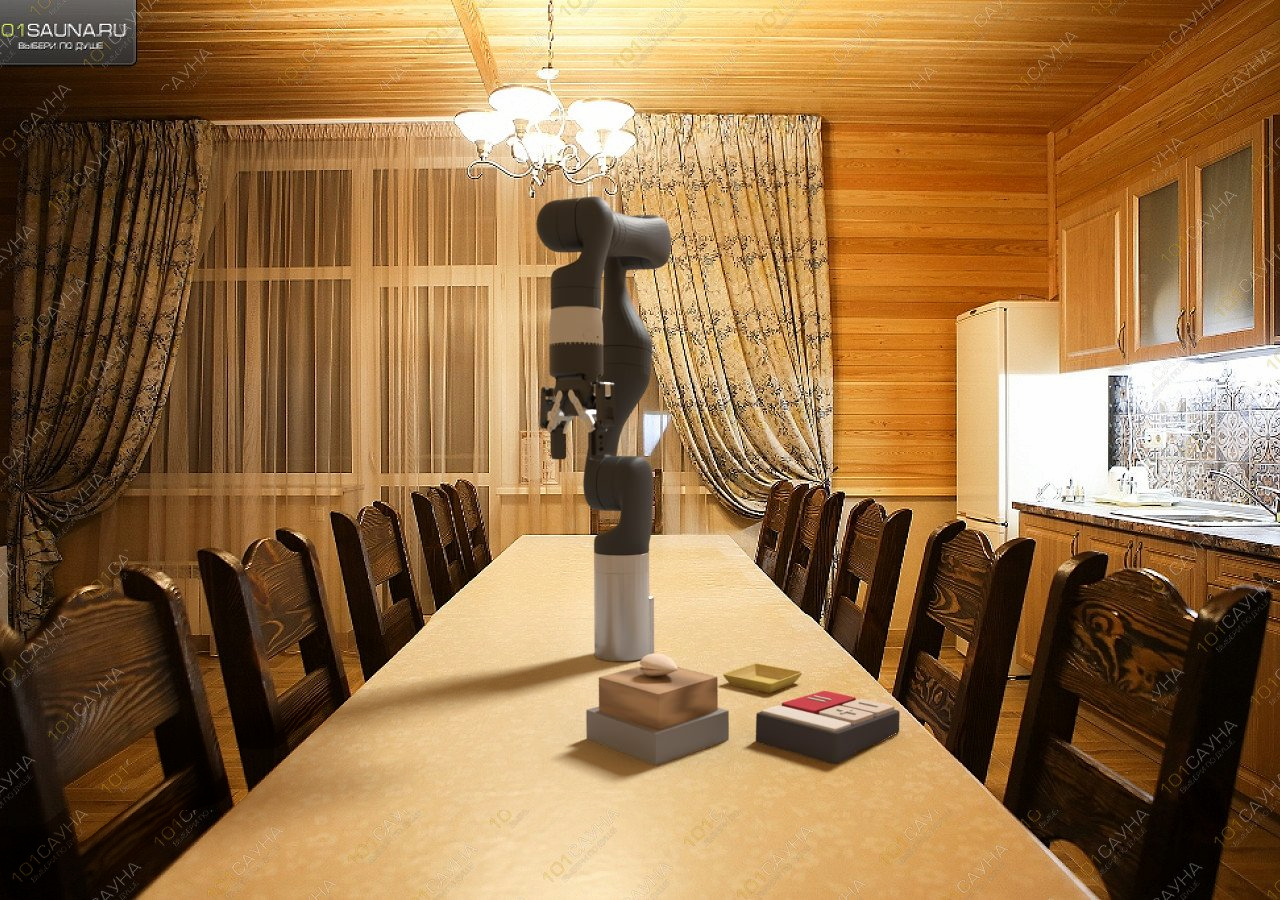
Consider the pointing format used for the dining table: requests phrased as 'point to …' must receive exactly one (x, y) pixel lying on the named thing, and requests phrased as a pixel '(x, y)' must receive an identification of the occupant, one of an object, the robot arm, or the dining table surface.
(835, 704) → the calculator
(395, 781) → the dining table surface
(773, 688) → the yellow shallow square tray
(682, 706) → the tower top block
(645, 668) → the pistachio nut
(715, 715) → the tower base block
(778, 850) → the dining table surface
